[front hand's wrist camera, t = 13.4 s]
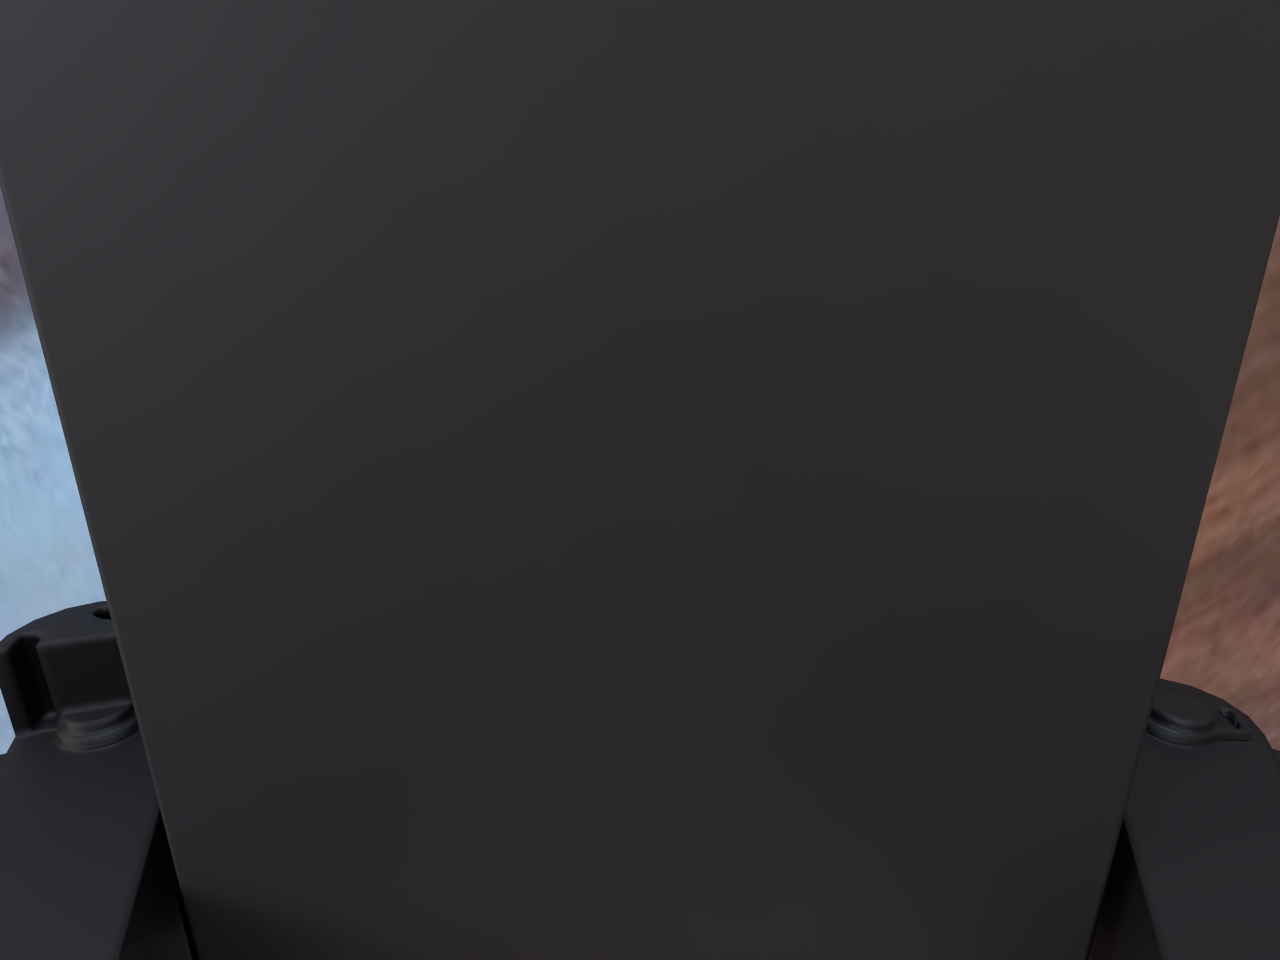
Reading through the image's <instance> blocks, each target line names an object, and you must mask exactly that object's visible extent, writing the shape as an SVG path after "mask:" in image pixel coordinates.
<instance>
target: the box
mask: <svg viewBox="0 0 1280 960" xmlns="http://www.w3.org/2000/svg"><path fill="white" fill-rule="evenodd" d="M0 186H1V190H2V194H3V198H4V202H5V205H6V209H7V213H8V217H9V221H10V225H11V229H12V233H13V237H14V241H15V245H16V248H17V252H18V256H19V260H20V264H21V268H22V272H23V276H24V280H25V284H26V287H27V291H28V295H29V299H30V303H31V307H32V311H33V315H34V319H35V323H36V327H37V330H38V334H39V338H40V342H41V346H42V350H43V354H44V358H45V362H46V366H47V369H48V373H49V377H50V381H51V385H52V389H53V393H54V397H55V401H56V405H57V409H58V412H59V416H60V420H61V424H62V428H63V432H64V436H65V440H66V444H67V448H68V451H69V455H70V459H71V463H72V467H73V471H74V475H75V479H76V483H77V487H78V491H79V494H80V498H81V502H82V506H83V510H84V514H85V518H86V522H87V526H88V530H89V534H90V537H91V541H92V545H93V549H94V553H95V557H96V561H97V565H98V569H99V573H100V576H101V580H102V584H103V588H104V592H105V596H106V600H107V604H108V608H109V612H110V616H111V619H112V623H113V627H114V631H115V635H116V639H117V643H118V647H119V651H120V655H121V658H122V662H123V666H124V670H125V674H126V678H127V682H128V686H129V690H130V694H131V698H132V701H133V705H134V709H135V713H136V717H137V721H138V725H139V729H140V733H141V737H142V741H143V744H144V748H145V752H146V756H147V760H148V764H149V768H150V772H151V776H152V780H153V783H154V787H155V791H156V795H157V799H158V803H159V807H160V811H161V815H162V819H163V823H164V826H165V830H166V834H167V838H168V842H169V846H170V850H171V854H172V858H173V862H174V865H175V869H176V873H177V877H178V881H179V885H180V889H181V893H182V897H183V901H184V905H185V908H186V912H187V916H188V920H189V924H190V928H191V932H192V936H193V940H194V944H195V948H196V951H197V955H198V959H199V960H1087V956H1088V952H1089V948H1090V945H1091V941H1092V937H1093V933H1094V929H1095V925H1096V921H1097V918H1098V914H1099V910H1100V906H1101V902H1102V898H1103V894H1104V891H1105V887H1106V883H1107V879H1108V875H1109V871H1110V867H1111V864H1112V860H1113V856H1114V852H1115V848H1116V844H1117V840H1118V837H1119V833H1120V829H1121V825H1122V821H1123V817H1124V813H1125V810H1126V806H1127V802H1128V798H1129V794H1130V790H1131V786H1132V783H1133V779H1134V775H1135V771H1136V767H1137V763H1138V759H1139V756H1140V752H1141V748H1142V744H1143V740H1144V736H1145V732H1146V729H1147V725H1148V721H1149V717H1150V713H1151V709H1152V705H1153V702H1154V698H1155V694H1156V690H1157V686H1158V682H1159V679H1160V675H1161V671H1162V667H1163V663H1164V659H1165V655H1166V652H1167V648H1168V644H1169V640H1170V636H1171V632H1172V628H1173V625H1174V621H1175V617H1176V613H1177V609H1178V605H1179V601H1180V598H1181V594H1182V590H1183V586H1184V582H1185V578H1186V574H1187V571H1188V567H1189V563H1190V559H1191V555H1192V551H1193V547H1194V544H1195V540H1196V536H1197V532H1198V528H1199V524H1200V520H1201V517H1202V513H1203V509H1204V505H1205V501H1206V497H1207V493H1208V490H1209V486H1210V482H1211V478H1212V474H1213V470H1214V466H1215V463H1216V459H1217V455H1218V451H1219V447H1220V443H1221V439H1222V436H1223V432H1224V428H1225V424H1226V420H1227V416H1228V412H1229V409H1230V405H1231V401H1232V397H1233V393H1234V389H1235V385H1236V382H1237V378H1238V374H1239V370H1240V366H1241V362H1242V358H1243V355H1244V351H1245V347H1246V343H1247V339H1248V335H1249V331H1250V328H1251V324H1252V320H1253V316H1254V312H1255V308H1256V304H1257V301H1258V297H1259V293H1260V289H1261V285H1262V281H1263V277H1264V274H1265V270H1266V266H1267V262H1268V258H1269V254H1270V250H1271V247H1272V243H1273V239H1274V235H1275V231H1276V227H1277V223H1278V220H1279V216H1280V0H0Z"/></svg>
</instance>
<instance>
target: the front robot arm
mask: <svg viewBox="0 0 1280 960" xmlns="http://www.w3.org/2000/svg"><path fill="white" fill-rule="evenodd" d="M0 688H1V691H2V695H3V698H4V701H5V704H6V707H7V710H8V713H9V716H10V720H11V723H12V726H13V729H14V732H15V735H16V737H15V739H14V740H13V742H12V744H11V746H10V748H9V750H8V751H7V753H6V754H2V755H0V960H199V959H198V955H197V951H196V948H195V944H194V940H193V936H192V932H191V928H190V924H189V920H188V916H187V912H186V908H185V905H184V901H183V897H182V893H181V889H180V885H179V881H178V877H177V873H176V869H175V865H174V862H173V858H172V854H171V850H170V846H169V842H168V838H167V834H166V830H165V826H164V823H163V819H162V815H161V811H160V807H159V803H158V799H157V795H156V791H155V787H154V783H153V780H152V776H151V772H150V768H149V764H148V760H147V756H146V752H145V748H144V744H143V741H142V737H141V733H140V729H139V725H138V721H137V717H136V713H135V709H134V705H133V701H132V698H131V694H130V690H129V686H128V682H127V678H126V674H125V670H124V666H123V662H122V658H121V655H120V651H119V647H118V643H117V639H116V635H115V631H114V627H113V623H112V619H111V616H110V612H109V608H108V604H107V601H101V602H96V603H91V604H86V605H81V606H76V607H72V608H67V609H64V610H61V611H59V612H56V613H53V614H50V615H47V616H45V617H42V618H39V619H36V620H34V621H32V622H30V623H28V624H27V625H25V626H23V627H21V628H19V629H18V630H16V631H14V632H12V633H10V634H9V635H7V636H6V637H5V638H4V639H3V640H2V641H0ZM1087 960H1280V751H1278V750H1274V749H1272V748H1271V746H1270V744H1269V742H1268V740H1267V739H1266V737H1265V735H1264V734H1263V733H1262V732H1261V730H1260V729H1259V728H1258V727H1257V726H1256V725H1255V723H1254V722H1253V721H1252V720H1251V719H1250V718H1249V717H1248V716H1247V715H1246V714H1244V713H1243V712H1241V711H1240V710H1238V709H1237V708H1235V707H1233V706H1232V705H1230V704H1229V703H1227V702H1226V701H1224V700H1223V699H1221V698H1218V697H1216V696H1214V695H1211V694H1209V693H1207V692H1204V691H1202V690H1200V689H1197V688H1195V687H1192V686H1189V685H1185V684H1181V683H1177V682H1173V681H1168V680H1164V679H1159V682H1158V686H1157V690H1156V694H1155V698H1154V702H1153V705H1152V709H1151V713H1150V717H1149V721H1148V725H1147V729H1146V732H1145V736H1144V740H1143V744H1142V748H1141V752H1140V756H1139V759H1138V763H1137V767H1136V771H1135V775H1134V779H1133V783H1132V786H1131V790H1130V794H1129V798H1128V802H1127V806H1126V810H1125V813H1124V817H1123V821H1122V825H1121V829H1120V833H1119V837H1118V840H1117V844H1116V848H1115V852H1114V856H1113V860H1112V864H1111V867H1110V871H1109V875H1108V879H1107V883H1106V887H1105V891H1104V894H1103V898H1102V902H1101V906H1100V910H1099V914H1098V918H1097V921H1096V925H1095V929H1094V933H1093V937H1092V941H1091V945H1090V948H1089V952H1088V956H1087Z"/></svg>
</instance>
